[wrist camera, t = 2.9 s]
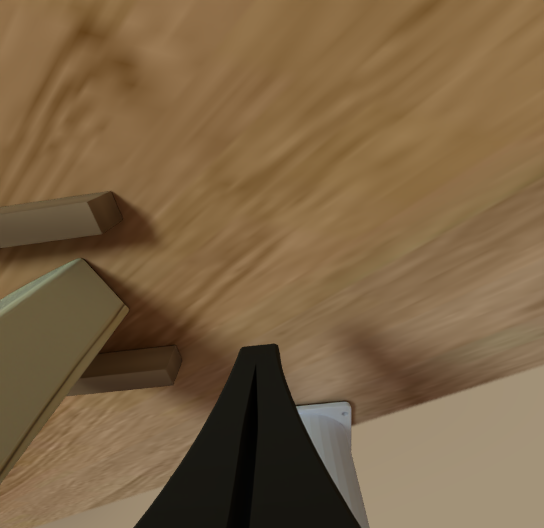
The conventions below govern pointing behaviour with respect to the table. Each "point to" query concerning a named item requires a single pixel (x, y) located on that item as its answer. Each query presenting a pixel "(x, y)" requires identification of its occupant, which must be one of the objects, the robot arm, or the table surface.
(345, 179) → the table surface
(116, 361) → the cradle
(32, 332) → the skincare box
